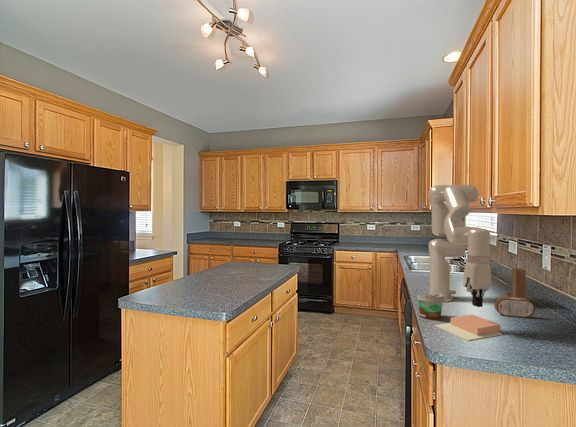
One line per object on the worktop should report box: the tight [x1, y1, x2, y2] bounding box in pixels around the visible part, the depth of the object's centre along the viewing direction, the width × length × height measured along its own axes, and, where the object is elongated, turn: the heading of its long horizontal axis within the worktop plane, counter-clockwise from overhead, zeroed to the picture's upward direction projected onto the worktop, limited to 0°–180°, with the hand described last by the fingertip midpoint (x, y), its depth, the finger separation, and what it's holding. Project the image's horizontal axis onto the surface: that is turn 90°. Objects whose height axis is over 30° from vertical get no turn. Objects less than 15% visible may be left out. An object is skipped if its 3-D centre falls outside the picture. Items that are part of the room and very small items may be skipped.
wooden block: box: [506, 268, 527, 298], centre depth 156 cm, size 9×4×18 cm, turn 166°
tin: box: [493, 295, 536, 319], centre depth 138 cm, size 15×3×8 cm, turn 75°
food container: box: [416, 293, 444, 321], centre depth 135 cm, size 12×6×10 cm, turn 105°
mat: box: [434, 322, 503, 342], centre depth 122 cm, size 18×15×1 cm
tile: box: [450, 313, 501, 336], centre depth 123 cm, size 3×12×12 cm
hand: (477, 305), depth 123 cm, fingers closed
